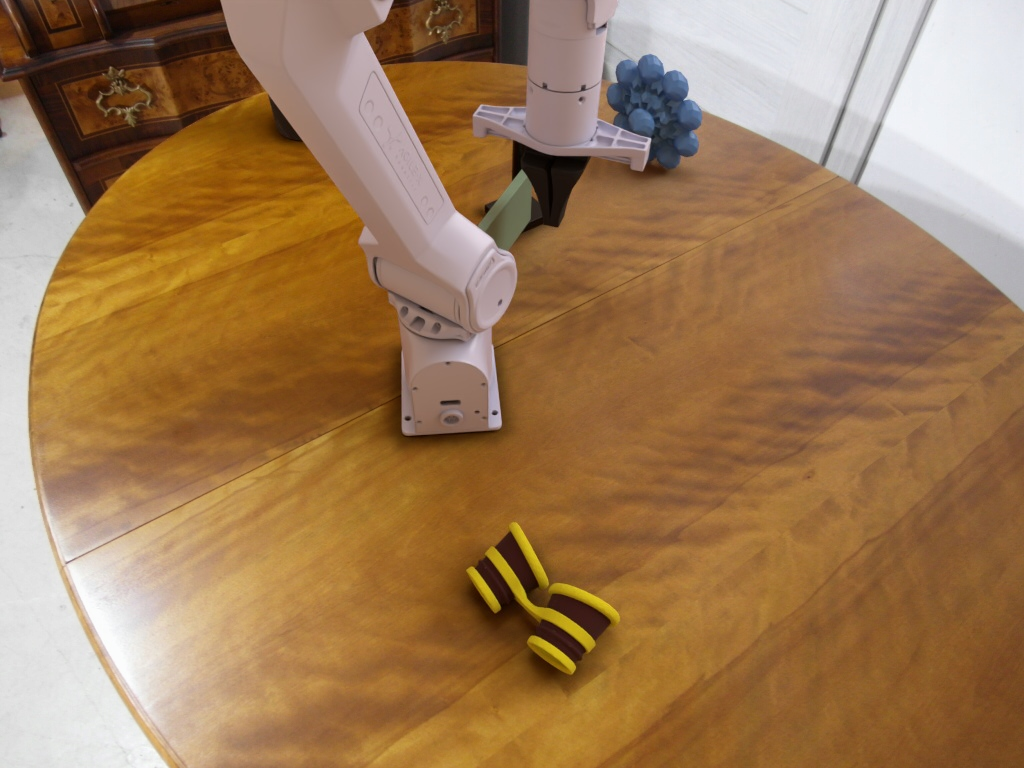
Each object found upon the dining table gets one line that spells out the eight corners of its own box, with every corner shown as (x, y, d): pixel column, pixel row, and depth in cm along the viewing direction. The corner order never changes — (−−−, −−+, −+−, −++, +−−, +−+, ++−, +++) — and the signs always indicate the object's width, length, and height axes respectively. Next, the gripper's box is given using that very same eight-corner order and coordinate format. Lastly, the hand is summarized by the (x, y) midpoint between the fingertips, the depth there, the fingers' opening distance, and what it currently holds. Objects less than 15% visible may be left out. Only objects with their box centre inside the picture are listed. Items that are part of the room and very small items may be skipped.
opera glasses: (466, 589, 54) (453, 565, 50) (518, 536, 56) (510, 508, 52) (568, 689, 50) (563, 672, 46) (622, 628, 51) (621, 606, 47)
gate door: (509, 213, 79) (510, 162, 75) (530, 219, 79) (533, 168, 74) (456, 284, 72) (453, 232, 68) (479, 291, 71) (478, 240, 67)
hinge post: (484, 212, 81) (483, 126, 74) (522, 196, 83) (525, 110, 76) (512, 237, 79) (514, 150, 71) (551, 220, 81) (557, 134, 73)
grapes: (581, 160, 88) (591, 58, 79) (612, 135, 92) (625, 34, 83) (672, 197, 84) (694, 93, 75) (701, 169, 87) (724, 66, 78)
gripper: (668, 67, 60) (643, 211, 70) (493, 35, 63) (493, 178, 73) (648, 111, 56) (624, 258, 66) (461, 75, 59) (465, 221, 69)
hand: (553, 219), depth 69 cm, fingers closed
